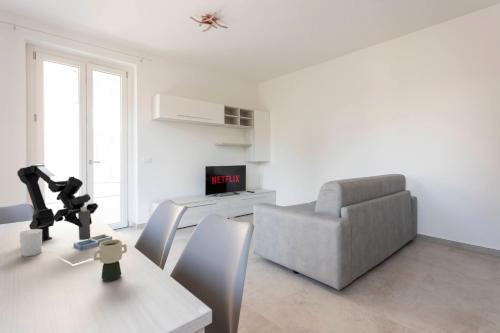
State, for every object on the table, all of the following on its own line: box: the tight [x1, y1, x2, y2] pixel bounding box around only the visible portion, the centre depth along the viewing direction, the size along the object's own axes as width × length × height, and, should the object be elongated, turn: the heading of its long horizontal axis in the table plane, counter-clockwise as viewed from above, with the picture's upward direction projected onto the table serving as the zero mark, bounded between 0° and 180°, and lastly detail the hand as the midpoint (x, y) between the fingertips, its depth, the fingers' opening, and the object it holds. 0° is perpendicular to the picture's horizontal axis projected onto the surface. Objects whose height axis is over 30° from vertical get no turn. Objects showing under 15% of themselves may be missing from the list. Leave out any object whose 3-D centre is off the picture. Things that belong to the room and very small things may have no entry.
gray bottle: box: [77, 206, 91, 241], centre depth 125 cm, size 4×4×15 cm
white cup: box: [18, 229, 43, 257], centre depth 117 cm, size 8×8×10 cm
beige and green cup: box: [92, 239, 128, 281], centre depth 93 cm, size 11×7×13 cm, turn 135°
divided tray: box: [73, 233, 113, 251], centre depth 129 cm, size 11×16×2 cm
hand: (86, 225), depth 124 cm, fingers closed on gray bottle, 4 cm apart
